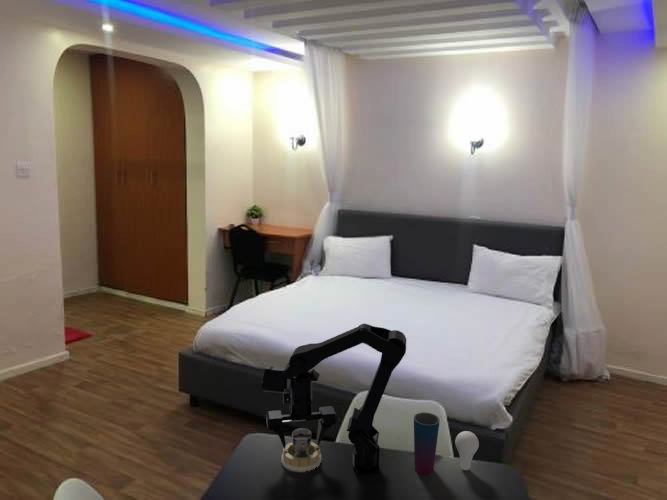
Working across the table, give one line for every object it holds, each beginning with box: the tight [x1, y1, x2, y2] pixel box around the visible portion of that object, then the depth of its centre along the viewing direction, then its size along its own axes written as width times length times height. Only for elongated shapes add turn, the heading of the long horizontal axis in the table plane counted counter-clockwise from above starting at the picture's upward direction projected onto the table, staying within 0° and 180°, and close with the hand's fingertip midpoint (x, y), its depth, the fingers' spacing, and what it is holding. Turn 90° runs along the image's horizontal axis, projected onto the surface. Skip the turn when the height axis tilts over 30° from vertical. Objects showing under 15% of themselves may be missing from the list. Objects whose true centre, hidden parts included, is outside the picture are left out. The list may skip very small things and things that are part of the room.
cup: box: [413, 411, 441, 476], centre depth 149 cm, size 7×7×15 cm
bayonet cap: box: [291, 427, 313, 458], centre depth 153 cm, size 6×5×7 cm
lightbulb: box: [454, 430, 480, 471], centre depth 149 cm, size 6×6×11 cm
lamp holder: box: [280, 441, 322, 473], centre depth 153 cm, size 11×11×4 cm
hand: (301, 446), depth 153 cm, fingers open, 9 cm apart
